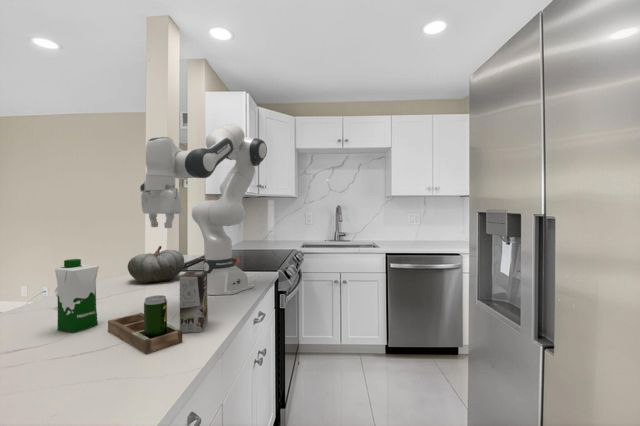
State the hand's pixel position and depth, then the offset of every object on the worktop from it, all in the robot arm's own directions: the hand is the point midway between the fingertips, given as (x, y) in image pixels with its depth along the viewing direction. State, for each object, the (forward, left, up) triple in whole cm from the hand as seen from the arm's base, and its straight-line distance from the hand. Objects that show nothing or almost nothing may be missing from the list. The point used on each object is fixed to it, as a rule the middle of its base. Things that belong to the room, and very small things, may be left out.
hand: (161, 227), depth 108 cm
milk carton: (+21, -8, -29) cm, 37 cm away
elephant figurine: (+15, -34, -29) cm, 47 cm away
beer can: (+12, +22, -29) cm, 39 cm away
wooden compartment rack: (+12, +14, -29) cm, 35 cm away
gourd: (-24, -55, -29) cm, 67 cm away
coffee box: (0, +19, -29) cm, 35 cm away
